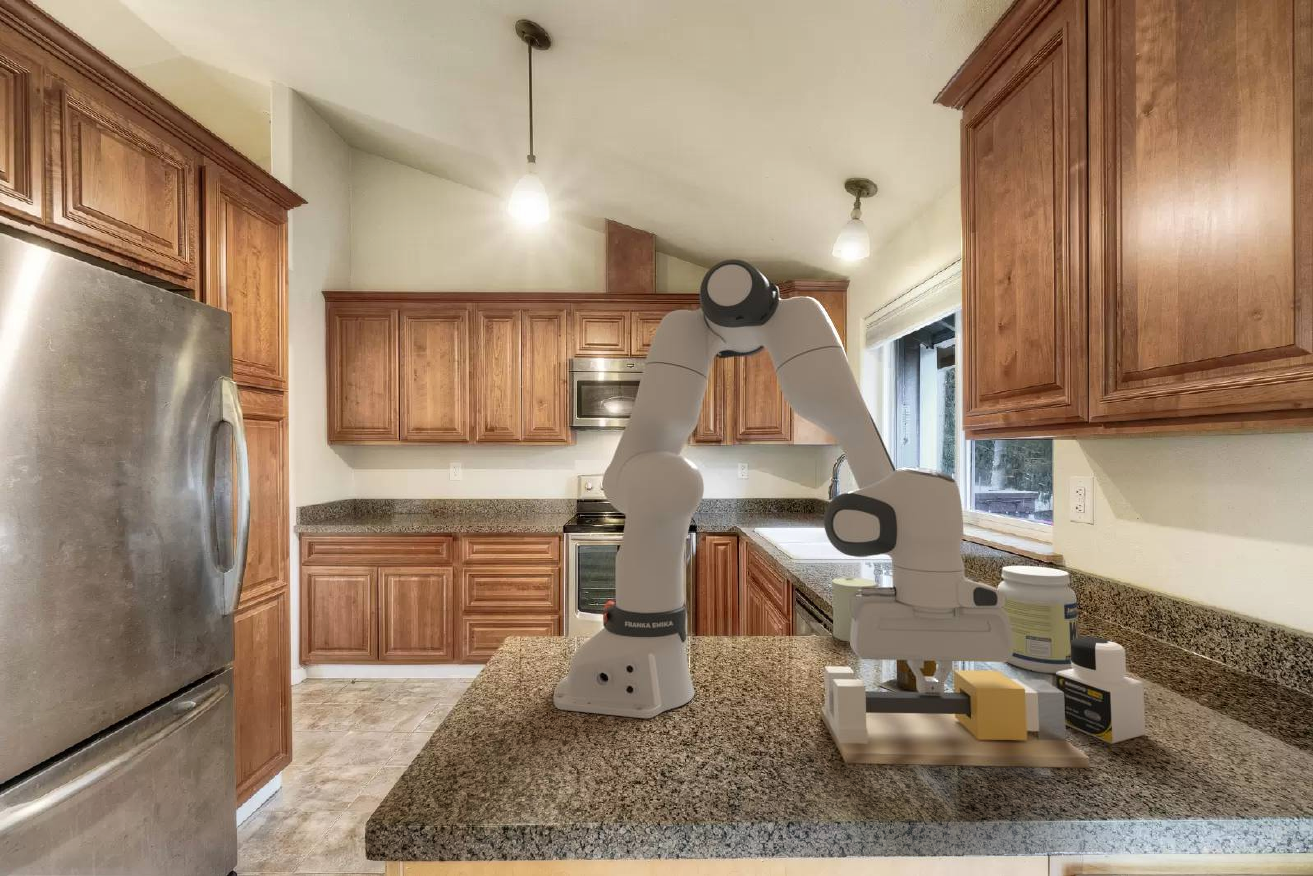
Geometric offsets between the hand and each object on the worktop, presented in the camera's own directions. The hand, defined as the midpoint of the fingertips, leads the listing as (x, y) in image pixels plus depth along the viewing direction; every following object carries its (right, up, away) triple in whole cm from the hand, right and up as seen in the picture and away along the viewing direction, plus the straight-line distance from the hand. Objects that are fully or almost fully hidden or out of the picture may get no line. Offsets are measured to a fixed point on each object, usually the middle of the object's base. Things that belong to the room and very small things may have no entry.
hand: (930, 692), depth 76 cm
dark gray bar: (+1, -2, 0) cm, 2 cm away
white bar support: (-11, -5, +1) cm, 12 cm away
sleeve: (+8, -5, 0) cm, 9 cm away
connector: (+14, -5, -1) cm, 15 cm away
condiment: (+6, -7, +18) cm, 20 cm away
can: (+6, -8, +45) cm, 46 cm away
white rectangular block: (+12, -4, -1) cm, 12 cm away
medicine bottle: (+25, -6, +3) cm, 26 cm away
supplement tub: (+33, -7, +28) cm, 44 cm away
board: (+2, -6, 0) cm, 6 cm away
